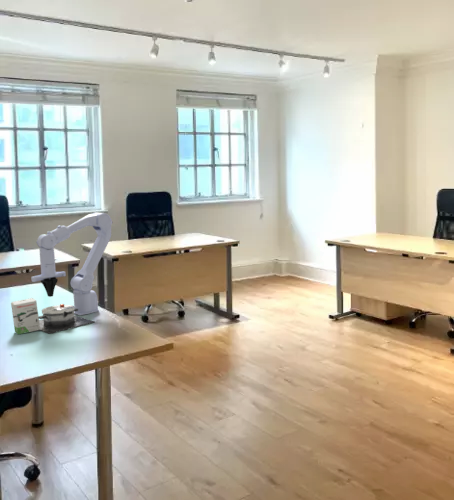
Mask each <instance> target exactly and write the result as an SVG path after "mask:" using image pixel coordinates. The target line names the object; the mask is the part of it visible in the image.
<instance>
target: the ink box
mask: <svg viewBox="0 0 454 500" xmlns="http://www.w3.org/2000/svg"><path fill="white" fill-rule="evenodd" d="M10 305H11V313H12V320H13V326H14V327H13V328H14V333H15V334H17V335H22V334H26V333H32V332H36V331H39V330H40V325H39V320H40V319H39V311H38V304H37V300H36V299H35V298H32V297H31V298H28V299H27V298H25V299H21V300H15V301H11V303H10Z"/></svg>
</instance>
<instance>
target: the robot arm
mask: <svg viewBox="0 0 454 500" xmlns="http://www.w3.org/2000/svg"><path fill="white" fill-rule="evenodd" d="M112 225H113V220H112V217H111V215H110V214H108V213H107V212H99V211H98V212H97V211H95V212H92V213H89V214H86V215H85V216H83V217H81V218H80V219H78V220H76V221H75V222H73V223H71V224H69V225H67V226H66V225H64V224H63V225H60V224H59V225H57V226H56V228H55V229H52V230H51V231H50V230H47V231H46V234H44V233H43V234H42V233H41V234H40V235H39V236H38V237H37V239H36V241H35V243H36V245H37V246H38V247H39V260H40V262H39V263H40V273H41V274H38V275H34V276H33V275H32V276H31V277H30V278H31V279H30V280H31V282H32V283H37V282H41V284H42V286H43V287H44V290H45V292H46V295H47V297H49V298H51V297H53V296H54V293H55V289H56V285H57V283H58V278H61V277H62V278H63V277H66V276H67V274H66V273H67V272H66V271H63V270H62V271H57V269H56V259H55V258H56V257H55V249H54V248H55V246H56V245H57V244H60V243H62V242H64V241H66V240H68V239H70V237H71V235H72V234H73V233H74V232H75V233H76V232H77V231H80V230H83V229H84V228H86V227H92V228H93V229H94V230H95V233H96V235H97V236H96V239H95V240H94V243H93V245H92V247H91V249H90V251H89V253H88V254H87V257H86V259H85V260H84V263H83V265H82V268H80V269H78V271H77V272H76V274H75V275H74V276H73V277H71V280H70V286H71V288H72V289H73V291H72V294H73V306H74V307H75V308H77V309H78V311H75V312H74V315H76V316H84V315H87V314H93V313H97V312H100V310H99V304H98V301H99V300H98V295H97V292H96V291H95V290H92V289H93V287H94V284H93V283H94V280H95V276H94V275H95V274H94V273H95V271H96V269H97V267H98V265H99V263H100V261H101V259H102V257H103V254H104V252H105V250H106V249H107V247H108V244H109V242H110V240H111V238H112Z"/></svg>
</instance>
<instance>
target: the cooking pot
mask: <svg viewBox="0 0 454 500" xmlns="http://www.w3.org/2000/svg"><path fill="white" fill-rule="evenodd" d="M75 311H78V309H77V308H75V310H74V311H72V314H69V315H67V314H59V315H45V314H42V315H40V316H39V315H38V317H39V325H40V330H38V331H40V332H42V333H46V334H49V335H50V334H56V333H57V332H58V333H59V332H62V331H67V330H70V329H75V328H79V327H82V326H86V325H90V324H94V323H95V320H91V319H88V318H84V317H81V316H79V315H76V314H74V312H75Z"/></svg>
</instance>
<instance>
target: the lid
mask: <svg viewBox="0 0 454 500" xmlns="http://www.w3.org/2000/svg"><path fill="white" fill-rule="evenodd" d="M74 310H75V307H74V305H71V304H64V303H60V304H58V305H53V306H48V307H45V308H42V309H41V314H42V315H43V314H45V315H59V314H67V315H69V314H72V311H74Z"/></svg>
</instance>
